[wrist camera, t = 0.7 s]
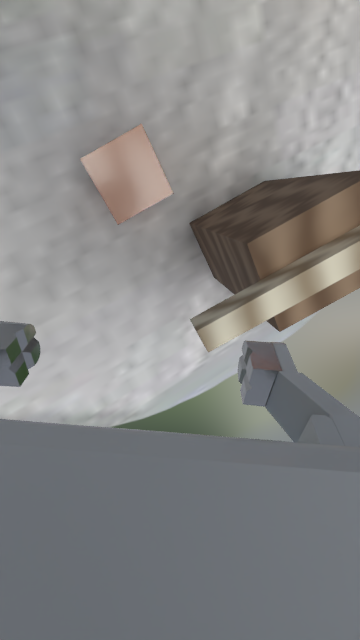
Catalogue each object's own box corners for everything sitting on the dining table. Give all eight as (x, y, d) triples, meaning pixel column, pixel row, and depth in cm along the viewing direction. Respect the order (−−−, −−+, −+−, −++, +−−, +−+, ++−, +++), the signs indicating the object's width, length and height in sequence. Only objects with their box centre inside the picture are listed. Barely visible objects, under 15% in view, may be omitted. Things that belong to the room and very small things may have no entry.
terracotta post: (118, 216, 49) (118, 224, 35) (91, 171, 46) (79, 158, 31) (157, 194, 49) (173, 193, 35) (134, 146, 46) (141, 123, 31)
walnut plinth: (214, 277, 58) (279, 331, 34) (189, 223, 52) (246, 243, 29) (282, 239, 57) (395, 268, 34) (264, 181, 52) (383, 167, 29)
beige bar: (200, 339, 32) (208, 352, 30) (189, 319, 31) (196, 330, 28) (383, 238, 32) (408, 242, 29) (380, 213, 31) (405, 215, 28)
